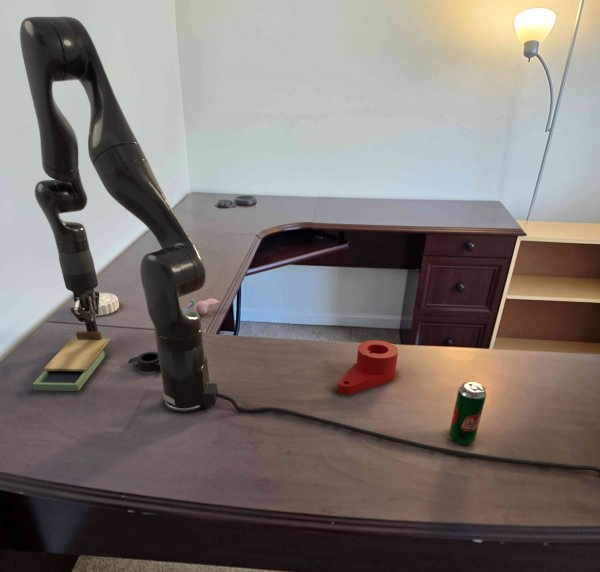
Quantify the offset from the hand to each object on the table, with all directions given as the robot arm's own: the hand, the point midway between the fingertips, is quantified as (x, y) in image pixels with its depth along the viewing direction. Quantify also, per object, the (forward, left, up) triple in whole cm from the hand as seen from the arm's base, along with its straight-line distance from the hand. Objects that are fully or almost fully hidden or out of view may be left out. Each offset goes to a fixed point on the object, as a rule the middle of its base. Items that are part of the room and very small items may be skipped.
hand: (93, 333), depth 130 cm
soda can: (-87, +39, -4) cm, 95 cm away
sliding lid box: (0, +15, -4) cm, 16 cm away
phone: (0, +15, -3) cm, 15 cm away
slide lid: (0, +10, -1) cm, 10 cm away
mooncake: (+8, -25, -4) cm, 27 cm away
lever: (-70, +16, -4) cm, 72 cm away
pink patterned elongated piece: (-23, -22, -4) cm, 32 cm away
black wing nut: (-18, +12, -4) cm, 22 cm away
